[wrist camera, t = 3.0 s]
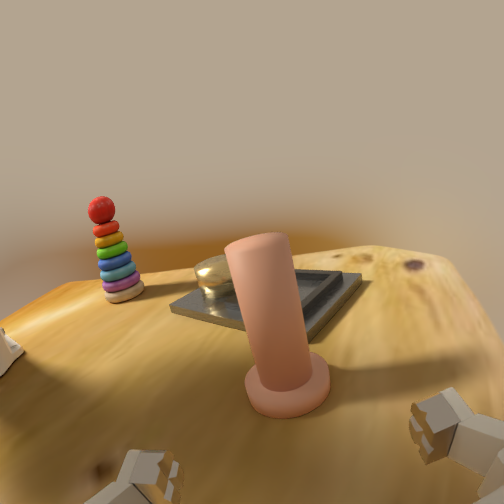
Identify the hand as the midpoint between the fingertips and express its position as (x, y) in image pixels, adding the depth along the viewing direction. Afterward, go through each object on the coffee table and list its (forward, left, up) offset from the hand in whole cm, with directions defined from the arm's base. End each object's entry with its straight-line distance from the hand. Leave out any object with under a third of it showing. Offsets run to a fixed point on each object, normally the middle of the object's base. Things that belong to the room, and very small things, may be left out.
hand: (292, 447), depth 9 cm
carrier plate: (-21, +22, -8) cm, 32 cm away
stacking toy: (-49, +16, -8) cm, 52 cm away
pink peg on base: (-8, +9, -8) cm, 15 cm away
